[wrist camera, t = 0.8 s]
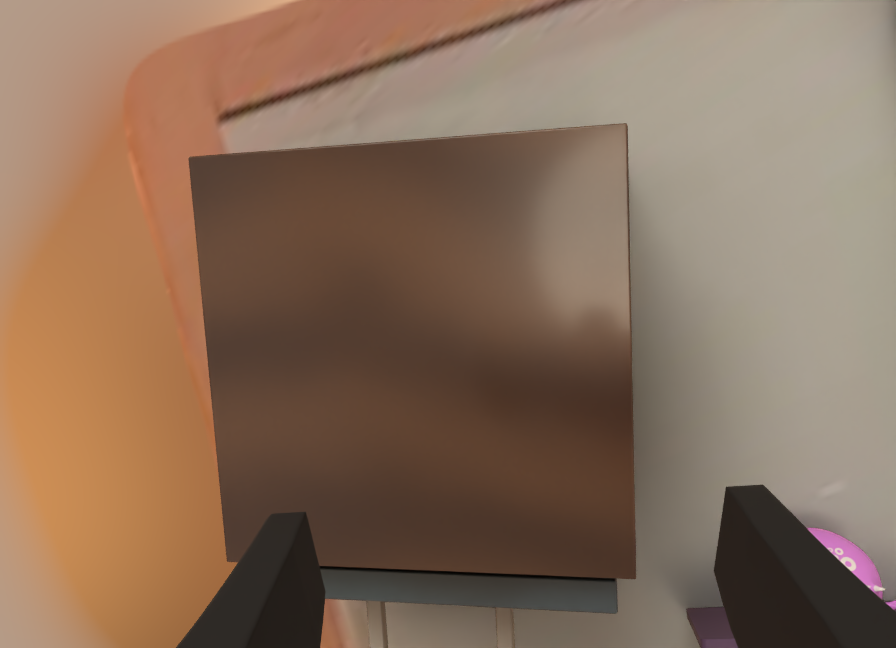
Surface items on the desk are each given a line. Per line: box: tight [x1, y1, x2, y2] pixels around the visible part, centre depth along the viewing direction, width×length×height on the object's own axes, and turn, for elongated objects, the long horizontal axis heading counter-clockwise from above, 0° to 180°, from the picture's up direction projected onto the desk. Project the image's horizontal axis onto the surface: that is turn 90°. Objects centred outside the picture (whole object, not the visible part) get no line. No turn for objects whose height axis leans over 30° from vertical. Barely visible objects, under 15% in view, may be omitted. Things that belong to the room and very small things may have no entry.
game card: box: [686, 528, 896, 648], centre depth 29 cm, size 7×5×9 cm
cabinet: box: [189, 123, 636, 579], centre depth 29 cm, size 14×14×9 cm
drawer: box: [319, 566, 618, 648], centre depth 29 cm, size 18×13×7 cm
